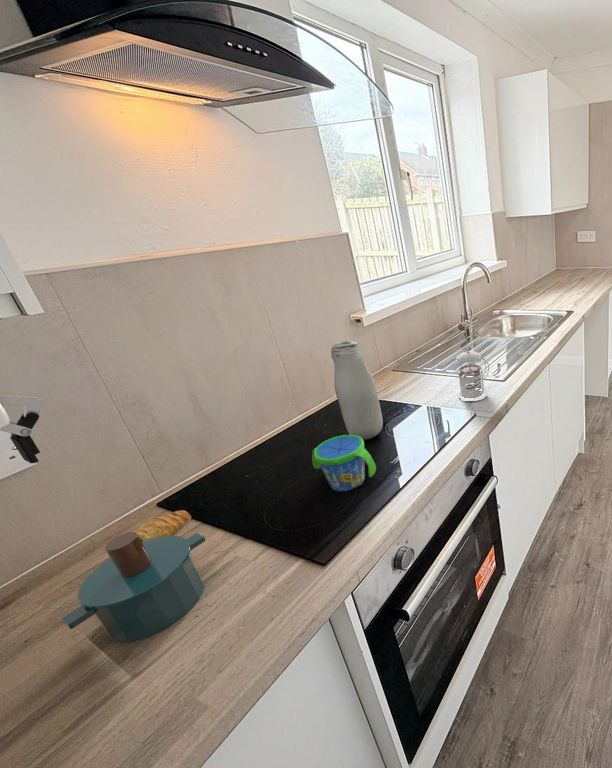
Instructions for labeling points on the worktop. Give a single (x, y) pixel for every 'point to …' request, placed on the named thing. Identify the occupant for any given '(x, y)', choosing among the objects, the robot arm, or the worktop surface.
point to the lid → (132, 569)
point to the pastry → (163, 525)
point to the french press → (469, 389)
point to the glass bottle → (356, 391)
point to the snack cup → (343, 461)
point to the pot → (149, 605)
